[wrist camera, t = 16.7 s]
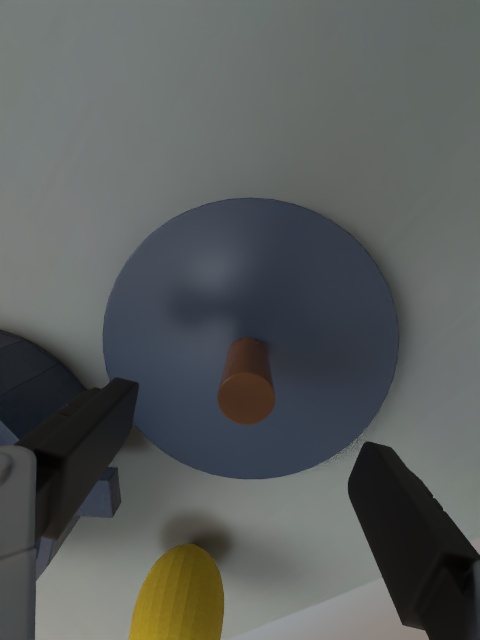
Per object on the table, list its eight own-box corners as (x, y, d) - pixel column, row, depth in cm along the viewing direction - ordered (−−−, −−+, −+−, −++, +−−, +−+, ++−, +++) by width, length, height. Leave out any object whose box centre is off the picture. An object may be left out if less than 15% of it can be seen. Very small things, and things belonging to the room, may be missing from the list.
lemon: (171, 506, 20) (121, 665, 12) (240, 532, 20) (233, 704, 12) (147, 557, 21) (88, 732, 13) (212, 581, 22) (191, 765, 14)
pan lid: (97, 200, 15) (-1, 165, 9) (410, 202, 15) (519, 165, 9) (123, 462, 19) (67, 553, 13) (371, 472, 19) (427, 572, 13)
